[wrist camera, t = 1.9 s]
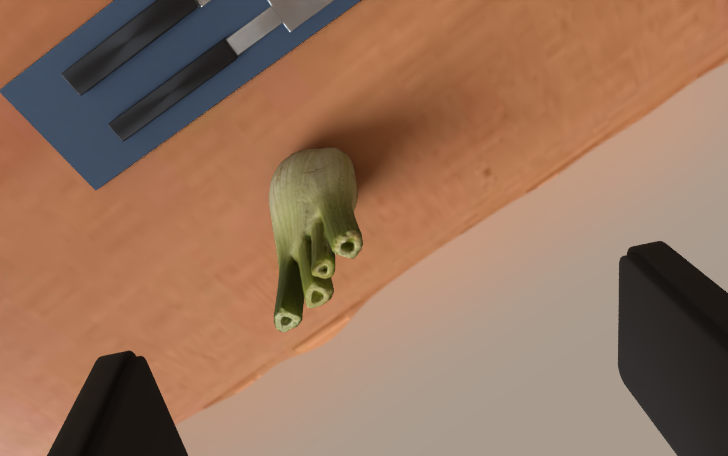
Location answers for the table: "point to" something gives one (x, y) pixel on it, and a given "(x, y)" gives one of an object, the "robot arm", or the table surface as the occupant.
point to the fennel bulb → (311, 228)
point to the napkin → (144, 80)
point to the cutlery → (173, 4)
